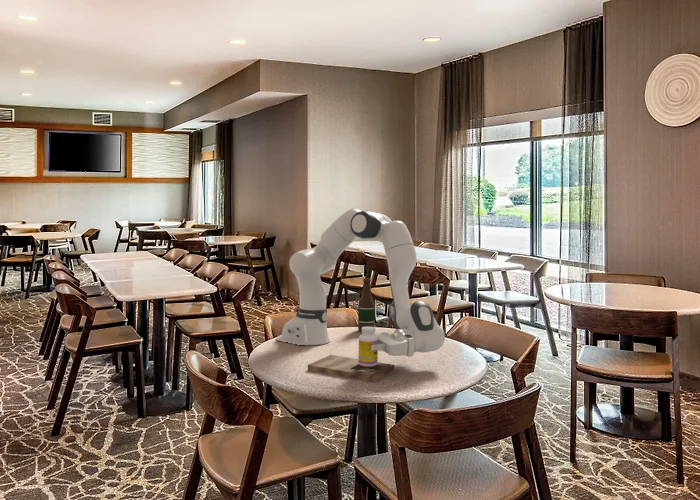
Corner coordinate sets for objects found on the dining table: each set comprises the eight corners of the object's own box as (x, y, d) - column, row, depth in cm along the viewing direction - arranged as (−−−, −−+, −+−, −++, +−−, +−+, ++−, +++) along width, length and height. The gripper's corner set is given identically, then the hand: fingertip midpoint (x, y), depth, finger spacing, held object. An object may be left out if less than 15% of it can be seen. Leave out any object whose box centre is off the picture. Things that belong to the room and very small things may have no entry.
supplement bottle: (375, 367, 206) (376, 330, 204) (356, 366, 207) (357, 329, 206) (378, 362, 212) (379, 326, 211) (360, 361, 214) (360, 325, 212)
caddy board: (307, 370, 212) (307, 364, 212) (330, 359, 226) (330, 354, 226) (374, 382, 200) (374, 376, 200) (394, 370, 214) (394, 364, 214)
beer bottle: (376, 329, 278) (377, 278, 276) (371, 333, 271) (372, 280, 269) (360, 328, 281) (361, 277, 279) (355, 331, 274) (356, 279, 271)
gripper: (389, 326, 223) (354, 329, 218) (415, 339, 204) (378, 342, 199) (389, 343, 224) (354, 346, 219) (415, 357, 205) (377, 361, 200)
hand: (365, 344), depth 209 cm, fingers closed on supplement bottle, 7 cm apart
